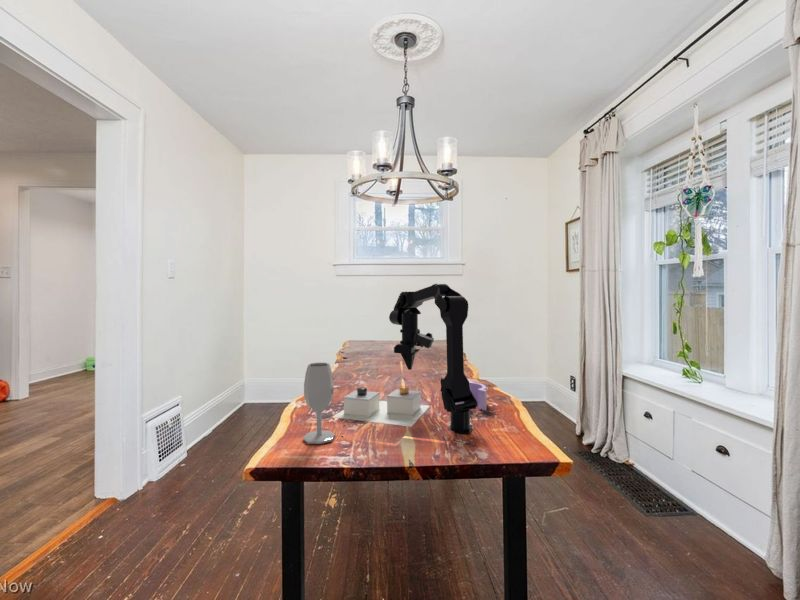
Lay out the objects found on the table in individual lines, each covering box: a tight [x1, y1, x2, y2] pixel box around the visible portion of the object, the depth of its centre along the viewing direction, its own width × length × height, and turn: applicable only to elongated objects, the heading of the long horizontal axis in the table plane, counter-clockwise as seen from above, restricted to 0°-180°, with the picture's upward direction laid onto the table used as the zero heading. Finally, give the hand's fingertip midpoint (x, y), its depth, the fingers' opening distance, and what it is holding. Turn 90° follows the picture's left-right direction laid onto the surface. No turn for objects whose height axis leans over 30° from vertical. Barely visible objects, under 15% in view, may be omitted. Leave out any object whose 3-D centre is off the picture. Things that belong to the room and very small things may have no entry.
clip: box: [455, 378, 487, 411], centre depth 142 cm, size 20×12×7 cm, turn 10°
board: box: [332, 400, 430, 428], centre depth 130 cm, size 22×27×1 cm
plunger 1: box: [356, 386, 368, 396], centre depth 129 cm, size 7×7×7 cm
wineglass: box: [303, 362, 336, 445], centre depth 107 cm, size 9×9×21 cm
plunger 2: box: [399, 385, 410, 394], centre depth 130 cm, size 7×7×7 cm
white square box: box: [386, 388, 422, 416], centre depth 131 cm, size 10×9×6 cm
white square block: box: [343, 389, 380, 417], centre depth 130 cm, size 10×9×6 cm
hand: (409, 369), depth 138 cm, fingers closed
